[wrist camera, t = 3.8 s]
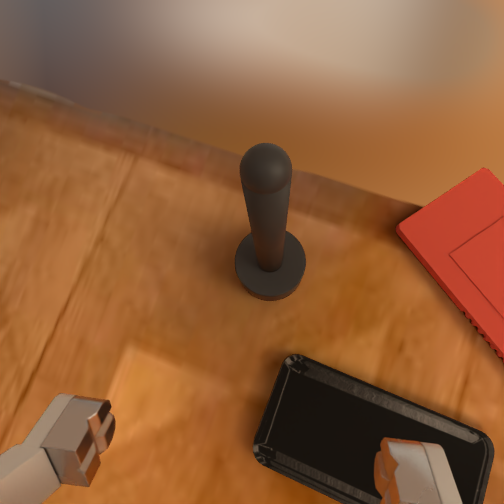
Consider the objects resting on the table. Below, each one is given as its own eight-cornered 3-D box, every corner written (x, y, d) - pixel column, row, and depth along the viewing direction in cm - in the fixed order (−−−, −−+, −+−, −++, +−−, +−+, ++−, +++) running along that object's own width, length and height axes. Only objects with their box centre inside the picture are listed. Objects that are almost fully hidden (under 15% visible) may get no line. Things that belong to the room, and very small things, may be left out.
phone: (288, 349, 26) (498, 438, 24) (287, 349, 27) (488, 434, 25) (246, 459, 24) (468, 566, 22) (248, 454, 25) (459, 555, 23)
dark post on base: (235, 297, 28) (172, 227, 11) (242, 235, 30) (197, 83, 12) (300, 304, 28) (344, 242, 10) (304, 241, 29) (351, 91, 12)
